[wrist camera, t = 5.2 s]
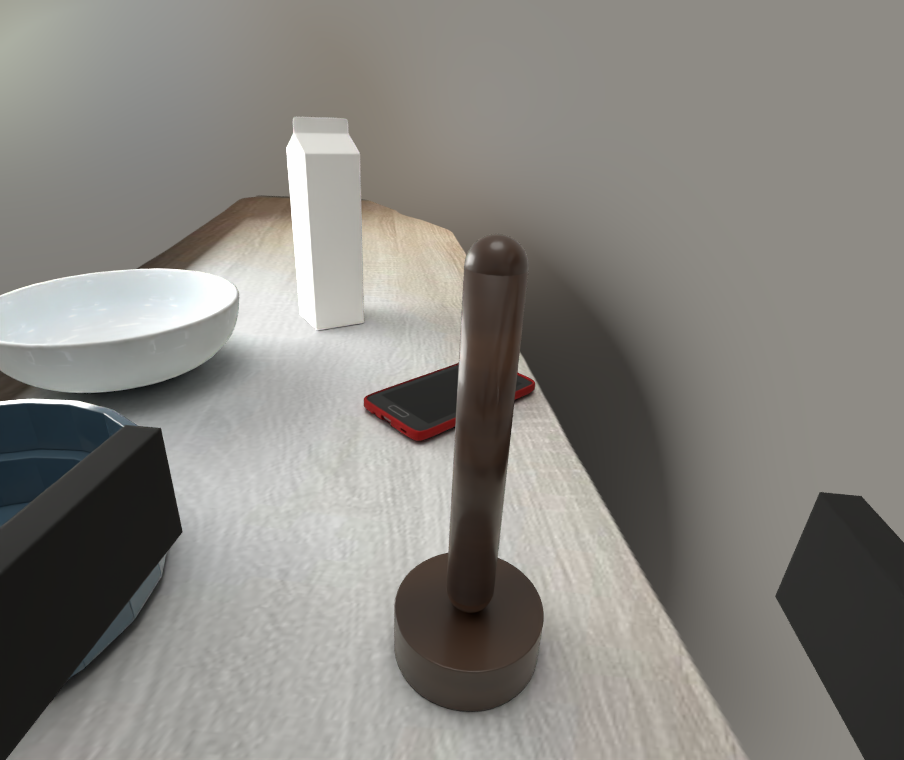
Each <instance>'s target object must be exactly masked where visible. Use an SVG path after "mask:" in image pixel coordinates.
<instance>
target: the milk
mask: <svg viewBox="0 0 904 760" xmlns="http://www.w3.org/2000/svg"><path fill="white" fill-rule="evenodd" d="M286 150H287V163H288V175H289V187H290V200H291V213H292V225H293V238H294V250H295V263H296V275H297V287H298V300H299V312H300V315H301V316H302V317H303V318H304V319H305V320H306V321H307V322H308V323H309V324H310V325H311V326H312V327H313V328H315V329H316V330H323V329H330V328H336V327H342V326H348V325H354V324H360V323H364V293H363V255H362V217H361V183H360V182H361V180H360V153H359V151H358V149H357V148H356V146H355V144H354V143H353V141H352V139H351V137H350V136H349V132H348V121H347V119H345V118H322V117H320V118H319V117H294V118H293V135H292V137H291V139H290V142H289V144H288V146H287V149H286Z"/></svg>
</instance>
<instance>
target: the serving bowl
mask: <svg viewBox="0 0 904 760" xmlns="http://www.w3.org/2000/svg"><path fill="white" fill-rule="evenodd" d="M238 310H239V292H238V289H237V287H236V286H235V285H234V284H233V283H231V282H230V281H228V280H226V279H224V278H222V277H219V276H216V275H212V274H208V273H203V272H197V271H189V270H177V269H134V270H133V269H132V270H118V271H107V272H98V273H90V274H84V275H76V276H70V277H65V278H60V279H55V280H51V281H46V282H42V283H38V284H34V285H30V286H27V287H24V288H21V289H17V290H15V291H11V292H9V293H6V294H3V295H1V296H0V371H2V372H3V373H5V374H7V375H8V376H10V377H12V378H14V379H16V380H18V381H20V382H23V383H26V384H28V385H31V386H35V387H38V388H42V389H47V390H52V391H60V392H69V393H98V392H111V391H119V390H126V389H132V388H137V387H142V386H147V385H151V384H155V383H158V382H162V381H165V380H168V379H171V378H173V377H176V376H179V375H181V374H183V373H186V372H188V371H190V370H192V369H194V368H196V367H198V366H199V365H201V364H203V363H204V362H206V361H207V360H209V359H210V358H211V357H212V356H214V355H215V354H216V353H217V352H218V351H219V350H220V349H221V348H222V347H223V346H224V345H225V343H226V342H227V340H228V339H229V337H230V336H231V334H232V332H233V330H234V327H235V325H236V321H237V317H238Z"/></svg>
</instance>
